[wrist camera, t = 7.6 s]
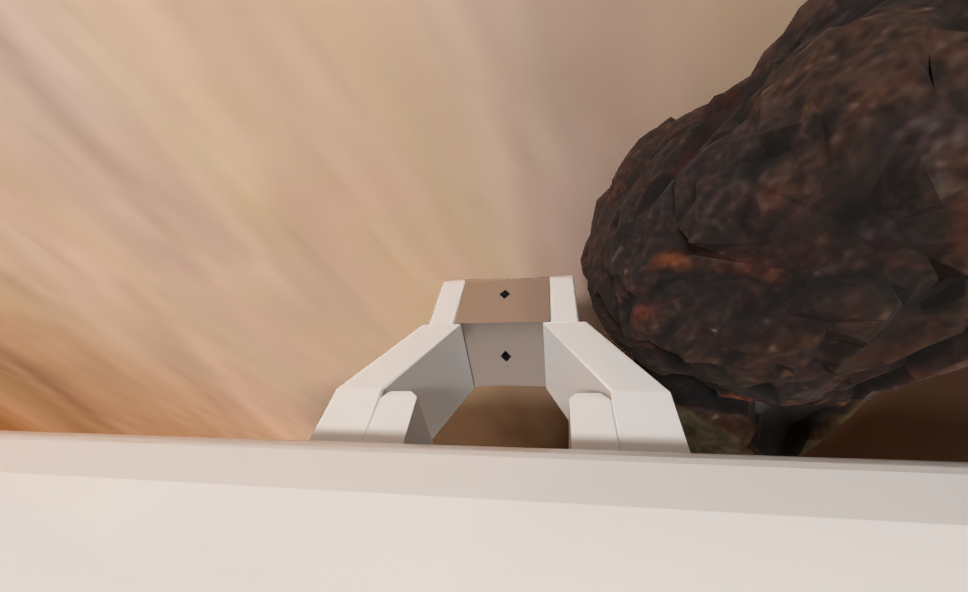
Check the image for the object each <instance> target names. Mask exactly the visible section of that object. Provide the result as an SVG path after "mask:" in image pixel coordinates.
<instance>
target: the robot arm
mask: <svg viewBox="0 0 968 592" xmlns="http://www.w3.org/2000/svg"><path fill="white" fill-rule="evenodd" d="M549 284H550V287H549ZM474 386H539V387H546V389H547V390H548V392H549V393H550V395H551V396H552V398H553V399H554V400H555V402H556V403H557V405H558V406H559V408H560V409H561V410H562V412H563V413H564V415H565V416H566V417H567V419H568V420H569V449H554V448H524V447H493V446H462V445H433V442H432V439H433V438H434V437H435V436H436V434H437V433H438V432H439V431H440V429H441V428H442V427H443V426H444V425H445V423H446V422H447V421H448V420H449V419H450V417H451V416H452V415H453V414H454V412H455V411H456V410H457V409H458V408H459V406H460V405H461V404H462V403H463V402H464V400H465V399H466V398H467V397H468V395H469V394H470V393H471V392H472V391H473V389H474ZM0 592H968V462H950V461H919V460H889V459H858V458H827V457H797V456H767V455H737V454H706V453H690V450H689V447H688V444H687V441H686V438H685V435H684V432H683V429H682V426H681V423H680V420H679V417H678V414H677V411H676V408H675V405H674V402H673V399H672V395H671V392H670V391H668V390H667V389H666V388H665V387H664V386H662V385H661V384H660V383H659V382H658V381H656V380H655V379H654V378H653V377H652V376H650V375H649V374H648V373H647V372H646V371H644V370H643V369H642V368H641V367H640V366H638V365H637V364H636V363H635V362H634V361H633V360H631V359H630V358H629V357H628V356H627V355H625V354H624V353H623V352H622V351H621V350H619V349H618V348H617V347H616V346H615V345H613V344H612V343H611V342H610V341H609V340H607V339H606V338H605V337H604V336H603V335H601V334H600V333H599V332H598V331H597V330H596V329H594V328H593V327H592V326H591V325H590V324H588V323H587V322H579V317H578V308H577V300H576V292H575V284H574V277H573V276H572V275H564V276H550V281H549V277H539V278H522V279H468V280H466V279H464V280H446V281H445V282H444V283H443V285H442V288H441V291H440V294H439V297H438V299H437V302H436V305H435V308H434V311H433V314H432V317H431V320H430V322H429V325H422V326H420V327H419V328H418V329H416V330H415V331H414V332H412V333H411V334H410V335H408V336H407V337H406V338H404V339H403V340H402V341H400V342H399V343H398V344H396V345H395V346H394V347H392V348H391V349H389V350H388V351H387V352H385V353H384V354H383V355H381V356H380V357H379V358H377V359H376V360H375V361H373V362H372V363H371V364H369V365H368V366H367V367H365V368H364V369H363V370H361V371H360V372H359V373H357V374H356V375H354V376H353V377H352V378H350V379H349V380H348V381H346V382H345V383H344V384H342V385H341V386H340V387H338V388H337V389H336V391H335V393H334V395H333V397H332V399H331V400H330V402H329V404H328V406H327V408H326V410H325V412H324V414H323V416H322V418H321V419H320V421H319V423H318V425H317V427H316V429H315V431H314V433H313V435H312V436H311V438H310V440H279V439H248V438H217V437H186V436H156V435H125V434H94V433H63V432H32V431H1V430H0Z"/></svg>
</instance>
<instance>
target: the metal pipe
mask: <svg viewBox="0 0 968 592" xmlns="http://www.w3.org/2000/svg"><path fill="white" fill-rule="evenodd" d="M581 265H582V271H583V274H584V276H585V277H586V279H587V280H588V291H589V293H590V296H591V300H592V306H593V309H594V310H595V312H596V314H597V316H598V317H599V319H600V321H601V323H602V324H603V325H604V327H605V329H606V331H607V333H608V334H609V335H610V336H611V338H612V339H613V340H614V341H615V342H616V343H617V344H618V345H619V346H620V347H622V348H624V349H627V350H629V351H630V352H631V353H632V354H633V355H634V359H633V361H634V362H635V363H636V364H637V365H638V366H640V367H641V368H642V369H643V370H644V371H646V372H647V373H648V374H649V375H650V376H652V377H653V378H654V379H655V380H656V381H658V382H659V383H660V384H661V385H662V386H664V387H665V388H666V389H667V390H668V391H670V392H671V395H672V399H673V402H674V405H675V408H676V411H677V414H678V417H679V420H680V423H681V426H682V429H683V432H684V435H685V438H686V441H687V444H688V447H689V450H690V453H706V454H737V455H767V456H797V457H798V456H800V455H802V454H803V453H805V452H807V451H808V450H810V449H812V448H814V447H815V446H816V445H817V444H819V443H820V442H821V441H822V440H823V439H824V438H826V437H827V436H828V435H829V434H830V433H831V432H833V431H834V430H835V429H836V428H837V427H839V426H840V425H841V424H842V423H844V422H845V421H846V420H847V419H849V418H850V417H851V416H852V415H853V414H854V413H855V412H856V411H857V410H858V409H859V408H860V407H861V406H862V405H863V404H864V403H865V402H866V401H867V400H872V396H873V395H874V394H875V393H877V392H880V391H887V390H896V389H899V388H901V387H904V386H907V385H909V384H912V383H914V382H917V381H920V380H924V379H928V378H931V377H935V376H938V375H942V374H946V373H949V372H953V371H956V370H959V369H962V368H965V367H968V0H808V1H807V2H806V3H804V4H803V5H802V6H801V7H800V8H799V9H798V11H797V13H796V14H795V16H794V17H793V19H792V21H791V22H790V24H789V25H788V27H787V28H786V30H785V32H784V33H783V34H782V35H781V36H780V37H779V38H778V39H777V40H776V41H775V42H774V43H773V44H772V45H771V46H770V47H769V48H768V49H767V50H766V51H765V52H764V53H763V55H762V56H761V58H760V60H759V62H758V63H757V65H756V67H755V69H754V70H753V72H752V74H751V76H750V77H748V78H746V79H744V80H743V81H741V82H739V83H738V84H736V85H734V86H733V87H732V88H730V89H729V90H727V91H726V92H725V93H722V94H719V95H716V96H714V97H713V98H712V100H711V101H710V102H709V104H706V105H704V106H701V107H699V108H697V109H695V110H694V111H692V112H690V113H688V114H686V115H684V116H682V117H680V118H679V119H677V120H675V119H673V118H672V117H670V118H669V119H667V120H666V121H665V122H664V123H662V124H661V125H660V126H658V127H657V128H655V129H654V130H652V131H650V132H648V133H647V134H646V135H644V136H643V137H642V138H640V139H639V140H638V141H637V143H636V144H635V145H634V146H633V148H632V149H631V150H630V151H629V153H628V154H627V156H626V157H625V159H624V160H623V162H622V163H621V165H620V166H619V168H618V170H617V172H616V174H615V176H614V178H613V180H612V185H611V186H610V188H609V189H608V190H607V191H606V192H605V193H604V194H603V195H602V196H601V197H600V198H599V199H598V200H597V201H596V207H595V212H594V216H593V221H592V227H591V234H590V236H589V238H588V240H587V242H586V244H585V247H584V250H583V254H582V257H581Z"/></svg>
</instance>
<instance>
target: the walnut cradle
mask: <svg viewBox="0 0 968 592" xmlns="http://www.w3.org/2000/svg"><path fill="white" fill-rule="evenodd" d="M798 457H827V458H858V459H889V460H919V461H950V462H968V367H965V368H962V369H959V370H956V371H953V372H949V373H946V374H942V375H938V376H935V377H931V378H928V379H924V380H920V381H917V382H914V383H912V384H909V385H907V386H904V387H901V388H899V389H896V390H887V391H880V392H877V393H875V394H874V395H873V396H872V400H867V401H866V402H865V403H864V404H863V405H862V406H861V407H860V408H859V409H858V410H857V411H856V412H855V413H854V414H853V415H852V416H851V417H850V418H849V419H847V420H846V421H845V422H844V423H842V424H841V425H840V426H839V427H837V428H836V429H835V430H834V431H833V432H831V433H830V434H829V435H828V436H827V437H826V438H824V439H823V440H822V441H821V442H820V443H819V444H817V445H816V446H815V447H814V448H812V449H810V450H808V451H807V452H805V453H803V454H802V455H800V456H798Z"/></svg>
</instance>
